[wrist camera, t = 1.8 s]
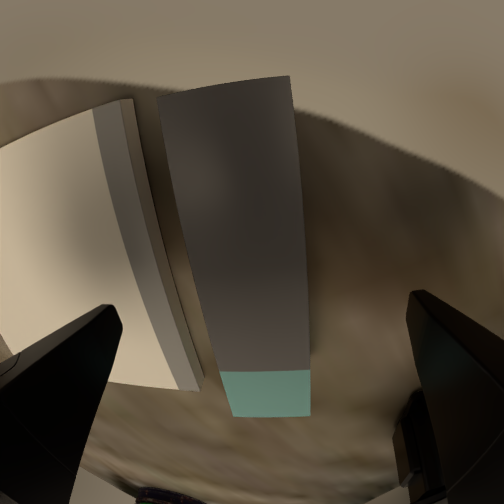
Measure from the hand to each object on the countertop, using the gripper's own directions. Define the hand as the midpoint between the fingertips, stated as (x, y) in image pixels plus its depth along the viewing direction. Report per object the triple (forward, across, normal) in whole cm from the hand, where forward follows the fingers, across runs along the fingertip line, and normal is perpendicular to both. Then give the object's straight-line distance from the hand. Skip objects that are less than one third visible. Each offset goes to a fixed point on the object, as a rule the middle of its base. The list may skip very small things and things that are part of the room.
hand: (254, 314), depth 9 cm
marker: (+4, 0, 0) cm, 4 cm away
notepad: (+4, +12, 0) cm, 12 cm away
